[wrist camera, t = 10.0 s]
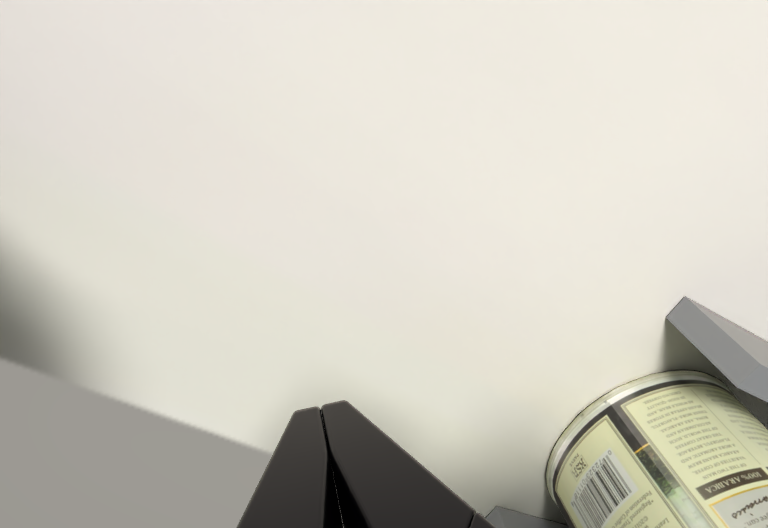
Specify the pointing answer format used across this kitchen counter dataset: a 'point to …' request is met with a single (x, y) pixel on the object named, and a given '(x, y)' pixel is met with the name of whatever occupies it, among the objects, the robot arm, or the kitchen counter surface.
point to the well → (719, 345)
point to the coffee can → (663, 458)
